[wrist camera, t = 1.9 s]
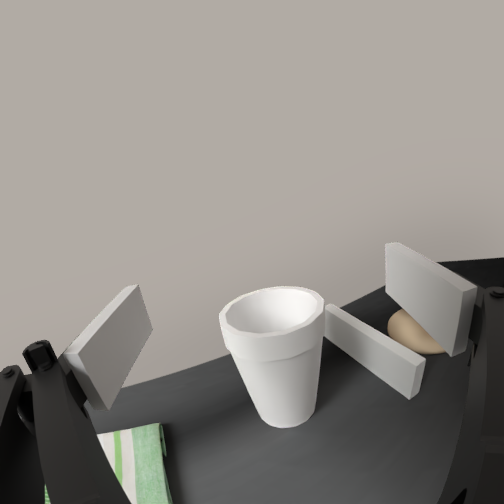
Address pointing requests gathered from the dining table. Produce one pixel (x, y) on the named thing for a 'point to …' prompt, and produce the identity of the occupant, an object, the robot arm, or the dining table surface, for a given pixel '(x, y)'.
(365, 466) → the dining table surface
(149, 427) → the dish towel
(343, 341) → the low wall
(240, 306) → the foam cup
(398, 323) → the cork coaster
